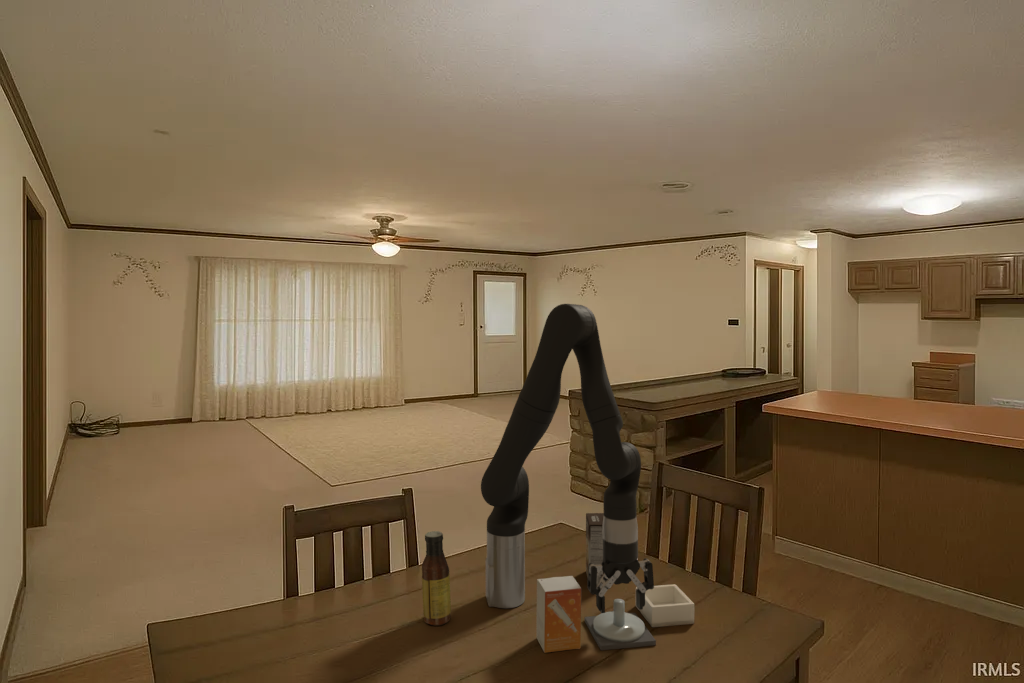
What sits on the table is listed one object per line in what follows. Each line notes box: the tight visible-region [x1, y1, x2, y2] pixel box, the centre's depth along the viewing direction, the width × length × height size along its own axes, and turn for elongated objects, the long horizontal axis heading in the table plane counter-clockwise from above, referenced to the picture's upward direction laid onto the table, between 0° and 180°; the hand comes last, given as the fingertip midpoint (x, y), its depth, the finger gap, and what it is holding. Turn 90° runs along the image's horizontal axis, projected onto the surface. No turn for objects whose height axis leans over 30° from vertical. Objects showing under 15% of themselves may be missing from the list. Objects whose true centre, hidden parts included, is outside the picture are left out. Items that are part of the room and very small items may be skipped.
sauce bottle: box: [421, 530, 452, 626], centre depth 136 cm, size 7×6×20 cm
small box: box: [536, 575, 582, 654], centre depth 127 cm, size 8×6×13 cm
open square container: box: [635, 584, 695, 628], centre depth 139 cm, size 10×10×4 cm
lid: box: [593, 598, 646, 642], centre depth 131 cm, size 11×11×6 cm
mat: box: [584, 612, 657, 651], centre depth 131 cm, size 12×12×1 cm
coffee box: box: [585, 512, 608, 586], centre depth 158 cm, size 9×6×16 cm
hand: (620, 609), depth 131 cm, fingers open, 8 cm apart
